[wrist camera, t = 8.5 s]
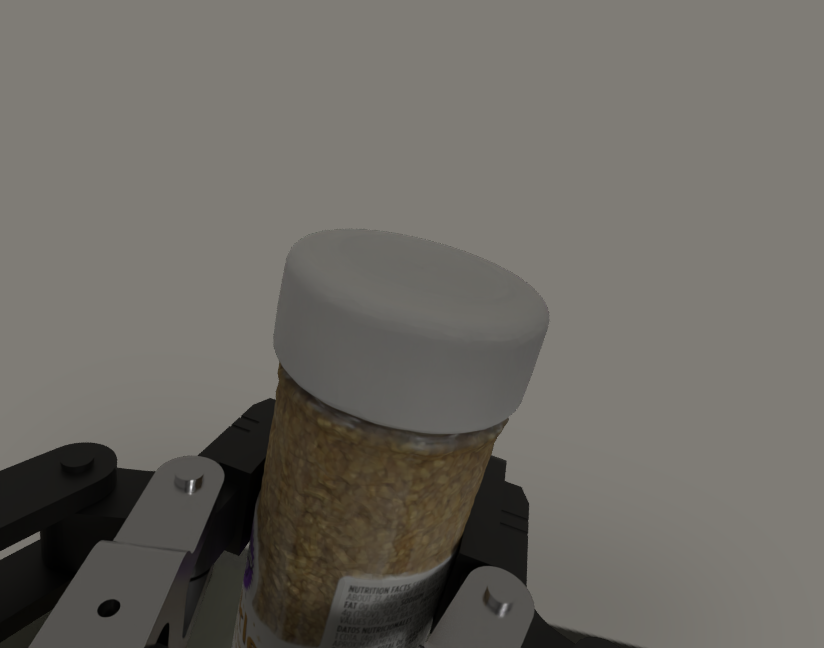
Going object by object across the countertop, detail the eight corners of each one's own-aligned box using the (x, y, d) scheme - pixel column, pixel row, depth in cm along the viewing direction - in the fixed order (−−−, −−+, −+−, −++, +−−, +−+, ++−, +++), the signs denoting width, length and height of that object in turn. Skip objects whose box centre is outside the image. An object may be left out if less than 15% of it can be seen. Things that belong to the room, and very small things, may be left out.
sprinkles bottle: (205, 673, 14) (264, 207, 9) (356, 633, 17) (470, 235, 12) (223, 888, 11) (335, 313, 6) (413, 800, 13) (618, 326, 8)
